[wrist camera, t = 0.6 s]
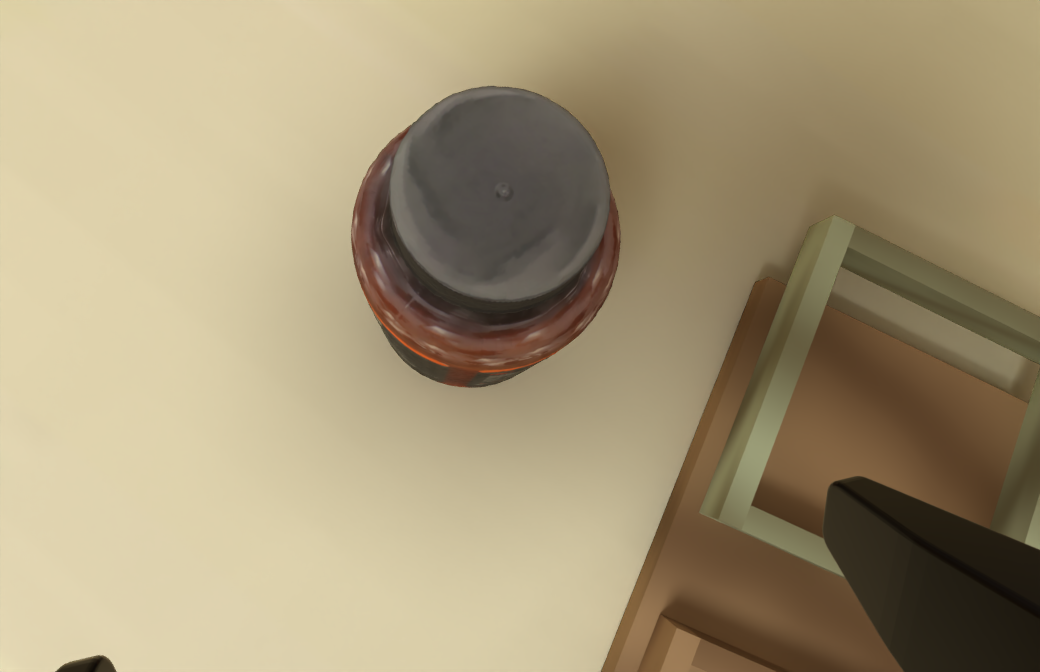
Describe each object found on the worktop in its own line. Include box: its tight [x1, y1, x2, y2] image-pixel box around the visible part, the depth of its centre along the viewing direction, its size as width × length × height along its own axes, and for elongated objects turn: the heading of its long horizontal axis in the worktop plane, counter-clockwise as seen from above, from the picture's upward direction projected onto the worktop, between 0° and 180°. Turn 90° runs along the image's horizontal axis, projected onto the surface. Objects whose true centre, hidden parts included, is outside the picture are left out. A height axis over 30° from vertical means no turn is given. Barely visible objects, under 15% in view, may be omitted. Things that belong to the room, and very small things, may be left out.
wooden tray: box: [601, 215, 1040, 672], centre depth 22 cm, size 25×12×2 cm, turn 156°
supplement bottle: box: [351, 86, 621, 388], centre depth 18 cm, size 6×6×11 cm
